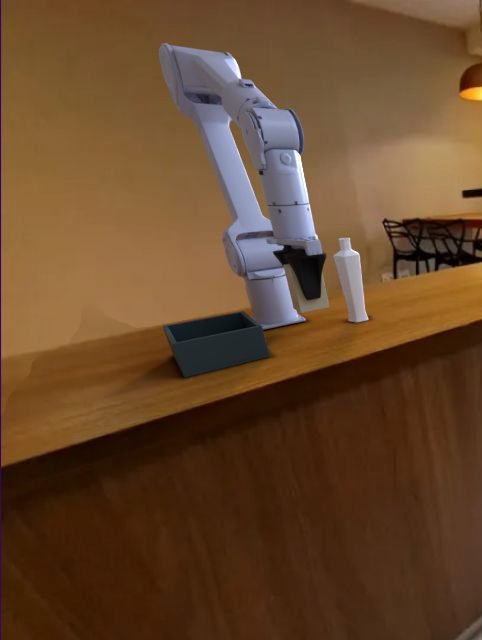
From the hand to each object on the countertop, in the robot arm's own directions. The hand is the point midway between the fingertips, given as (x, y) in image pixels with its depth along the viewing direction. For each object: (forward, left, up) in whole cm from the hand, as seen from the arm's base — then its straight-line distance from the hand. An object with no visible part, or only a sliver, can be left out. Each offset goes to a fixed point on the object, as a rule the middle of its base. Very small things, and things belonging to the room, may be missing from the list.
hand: (308, 296), depth 70 cm
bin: (-5, -13, -8) cm, 16 cm away
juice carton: (0, 0, -2) cm, 2 cm away
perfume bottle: (-8, +11, -8) cm, 15 cm away
